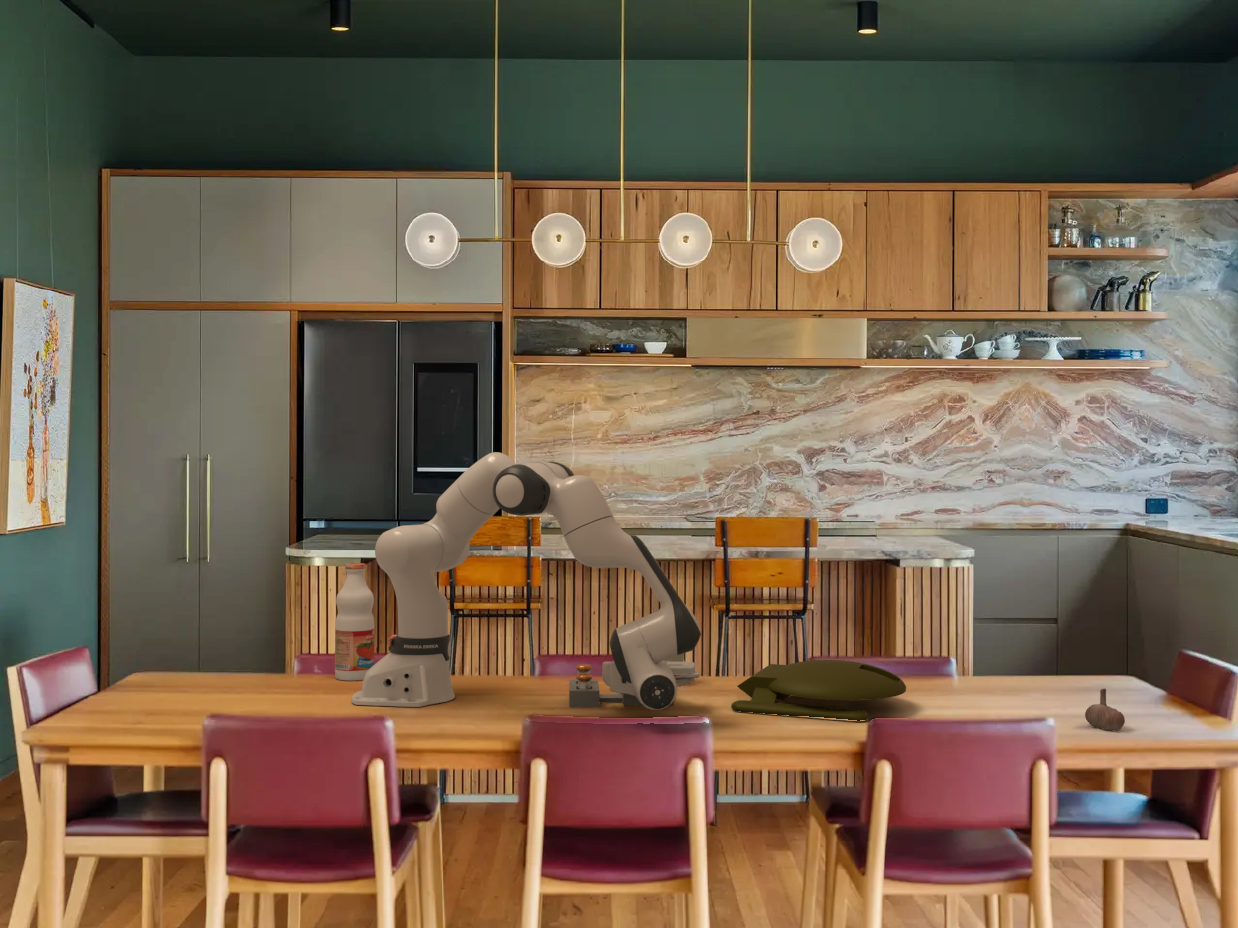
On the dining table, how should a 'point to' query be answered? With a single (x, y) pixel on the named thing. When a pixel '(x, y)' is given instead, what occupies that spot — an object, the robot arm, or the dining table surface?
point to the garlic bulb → (1104, 715)
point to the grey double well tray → (597, 696)
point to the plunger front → (584, 681)
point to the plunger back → (583, 668)
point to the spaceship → (817, 688)
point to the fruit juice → (354, 626)
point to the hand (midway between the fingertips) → (646, 665)
